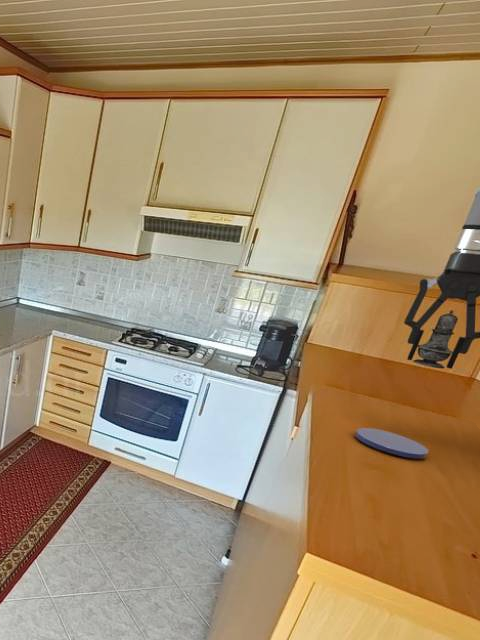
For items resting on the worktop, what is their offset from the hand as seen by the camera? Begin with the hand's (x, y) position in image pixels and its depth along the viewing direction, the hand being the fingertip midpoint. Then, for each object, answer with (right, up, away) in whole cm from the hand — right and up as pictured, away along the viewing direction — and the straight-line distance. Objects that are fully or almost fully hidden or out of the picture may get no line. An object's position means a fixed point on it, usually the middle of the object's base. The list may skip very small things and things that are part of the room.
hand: (428, 362), depth 105 cm
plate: (-10, -18, -2) cm, 21 cm away
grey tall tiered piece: (0, -1, 0) cm, 1 cm away
